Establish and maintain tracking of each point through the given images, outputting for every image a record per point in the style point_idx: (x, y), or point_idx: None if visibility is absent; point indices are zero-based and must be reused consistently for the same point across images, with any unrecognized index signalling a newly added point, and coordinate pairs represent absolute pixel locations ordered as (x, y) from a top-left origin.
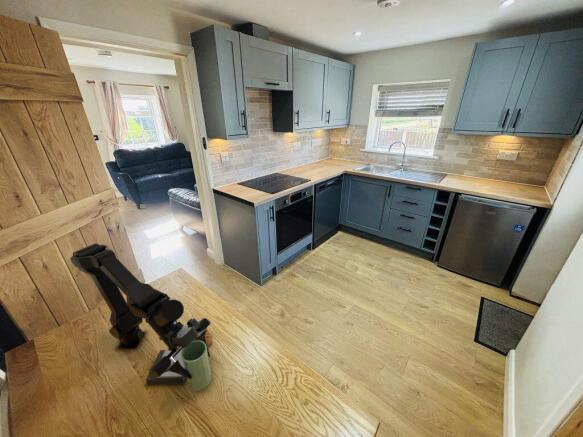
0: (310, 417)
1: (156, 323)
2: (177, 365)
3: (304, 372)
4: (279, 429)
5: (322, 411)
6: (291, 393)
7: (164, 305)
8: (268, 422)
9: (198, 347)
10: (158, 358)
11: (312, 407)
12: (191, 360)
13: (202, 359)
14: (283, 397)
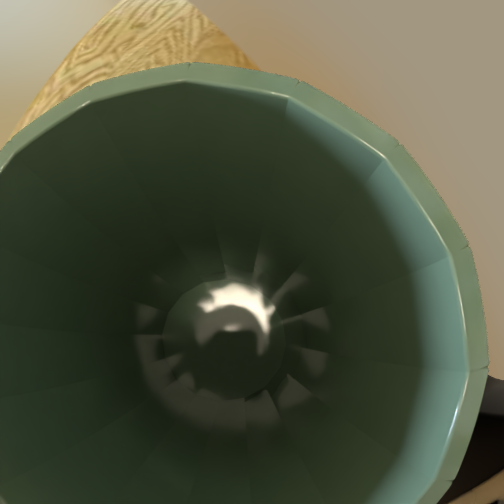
0: (167, 12)
1: None
2: (502, 396)
3: (68, 58)
4: (219, 33)
5: (148, 7)
6: (127, 48)
7: None
8: (217, 50)
9: (63, 417)
10: None
11: (146, 16)
12: (200, 435)
13: (199, 120)
14: (142, 54)
